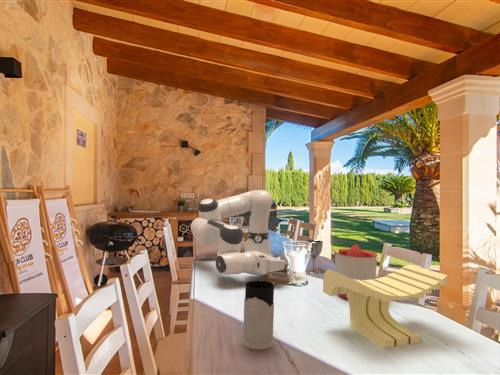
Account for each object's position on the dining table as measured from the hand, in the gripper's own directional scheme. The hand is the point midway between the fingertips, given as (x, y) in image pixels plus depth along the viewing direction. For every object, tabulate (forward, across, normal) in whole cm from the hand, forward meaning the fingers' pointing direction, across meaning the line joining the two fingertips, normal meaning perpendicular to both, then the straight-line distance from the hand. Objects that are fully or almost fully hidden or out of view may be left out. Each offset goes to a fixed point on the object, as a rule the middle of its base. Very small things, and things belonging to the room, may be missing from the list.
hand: (281, 259), depth 147 cm
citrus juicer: (+14, +29, -9) cm, 33 cm away
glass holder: (-36, +45, -9) cm, 59 cm away
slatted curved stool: (-2, +57, -9) cm, 58 cm away
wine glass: (+24, -7, -9) cm, 26 cm away
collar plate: (-1, 0, -9) cm, 9 cm away
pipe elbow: (+1, 0, -9) cm, 9 cm away
